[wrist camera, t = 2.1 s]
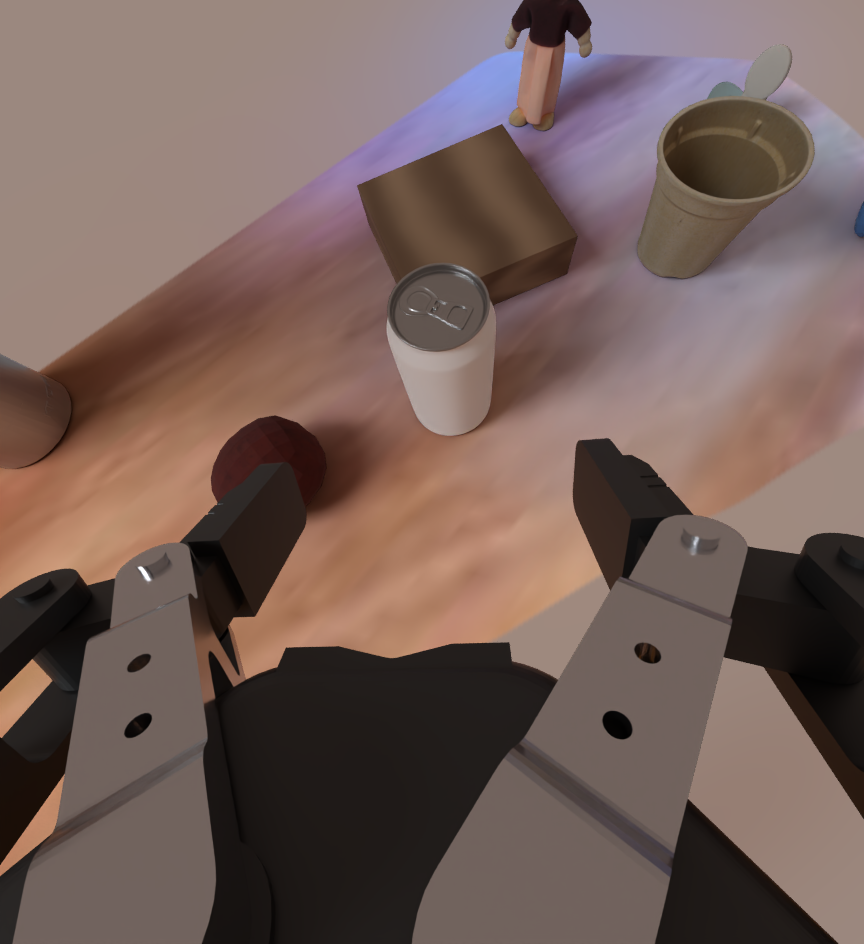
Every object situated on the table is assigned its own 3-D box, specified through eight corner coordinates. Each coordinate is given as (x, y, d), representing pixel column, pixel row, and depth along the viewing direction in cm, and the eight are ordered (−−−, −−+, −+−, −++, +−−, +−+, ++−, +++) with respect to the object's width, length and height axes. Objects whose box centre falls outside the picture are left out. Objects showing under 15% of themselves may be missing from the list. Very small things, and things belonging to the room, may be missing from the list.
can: (434, 356, 34) (412, 242, 23) (503, 382, 33) (517, 276, 21) (400, 419, 33) (358, 333, 21) (470, 450, 32) (466, 375, 20)
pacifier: (726, 179, 36) (780, 144, 36) (774, 100, 30) (838, 58, 30) (670, 135, 38) (721, 102, 38) (704, 53, 32) (764, 14, 32)
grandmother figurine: (496, 132, 40) (504, -62, 28) (503, 105, 41) (513, -95, 29) (573, 136, 39) (616, -66, 27) (578, 107, 40) (623, -100, 28)
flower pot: (596, 269, 35) (633, 171, 26) (646, 194, 36) (696, 79, 28) (701, 314, 32) (778, 222, 24) (750, 232, 34) (838, 119, 26)
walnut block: (421, 335, 35) (413, 305, 31) (368, 224, 39) (357, 185, 35) (566, 273, 35) (577, 235, 31) (499, 169, 39) (502, 124, 35)
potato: (225, 486, 33) (162, 462, 26) (302, 419, 34) (260, 380, 27) (275, 551, 31) (219, 543, 24) (355, 479, 32) (323, 452, 25)
